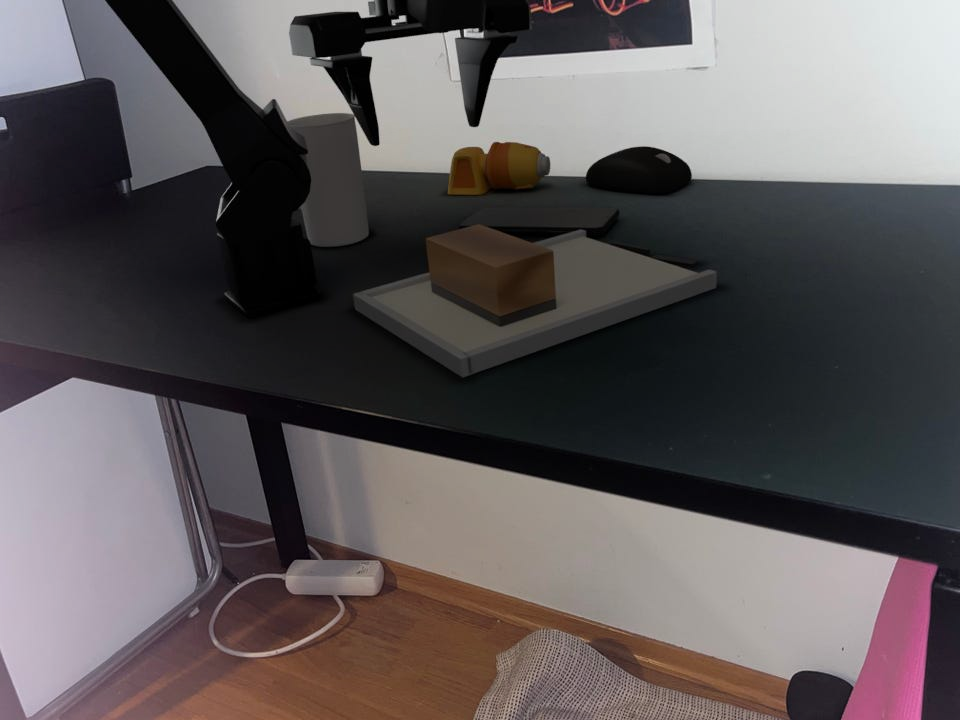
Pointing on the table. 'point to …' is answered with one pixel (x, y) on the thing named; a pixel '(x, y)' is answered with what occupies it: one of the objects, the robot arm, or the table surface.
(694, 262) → the mark
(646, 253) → the mark
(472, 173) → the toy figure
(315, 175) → the mug
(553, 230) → the smartphone
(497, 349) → the grey tray
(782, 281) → the table surface
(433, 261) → the eraser
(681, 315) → the table surface
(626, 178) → the computer mouse
